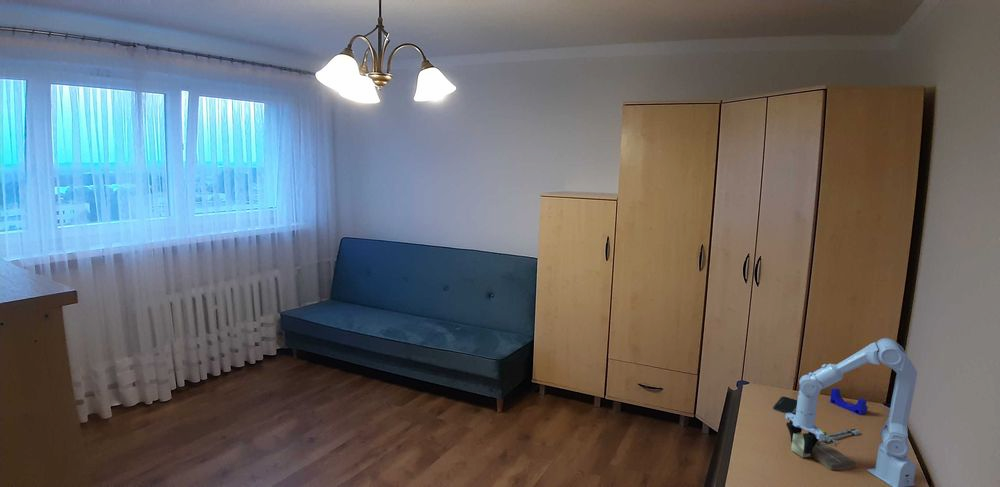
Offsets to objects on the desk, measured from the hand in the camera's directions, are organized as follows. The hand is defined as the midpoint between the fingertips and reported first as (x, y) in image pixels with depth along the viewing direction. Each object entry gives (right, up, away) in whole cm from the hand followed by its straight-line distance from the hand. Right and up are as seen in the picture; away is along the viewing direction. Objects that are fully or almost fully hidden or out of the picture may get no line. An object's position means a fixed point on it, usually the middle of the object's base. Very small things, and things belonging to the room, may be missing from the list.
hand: (801, 448), depth 178 cm
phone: (+15, +3, +36) cm, 39 cm away
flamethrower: (+16, -1, +13) cm, 21 cm away
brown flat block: (+8, -3, -1) cm, 8 cm away
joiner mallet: (+3, -2, +1) cm, 3 cm away
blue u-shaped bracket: (+40, +2, +37) cm, 54 cm away
